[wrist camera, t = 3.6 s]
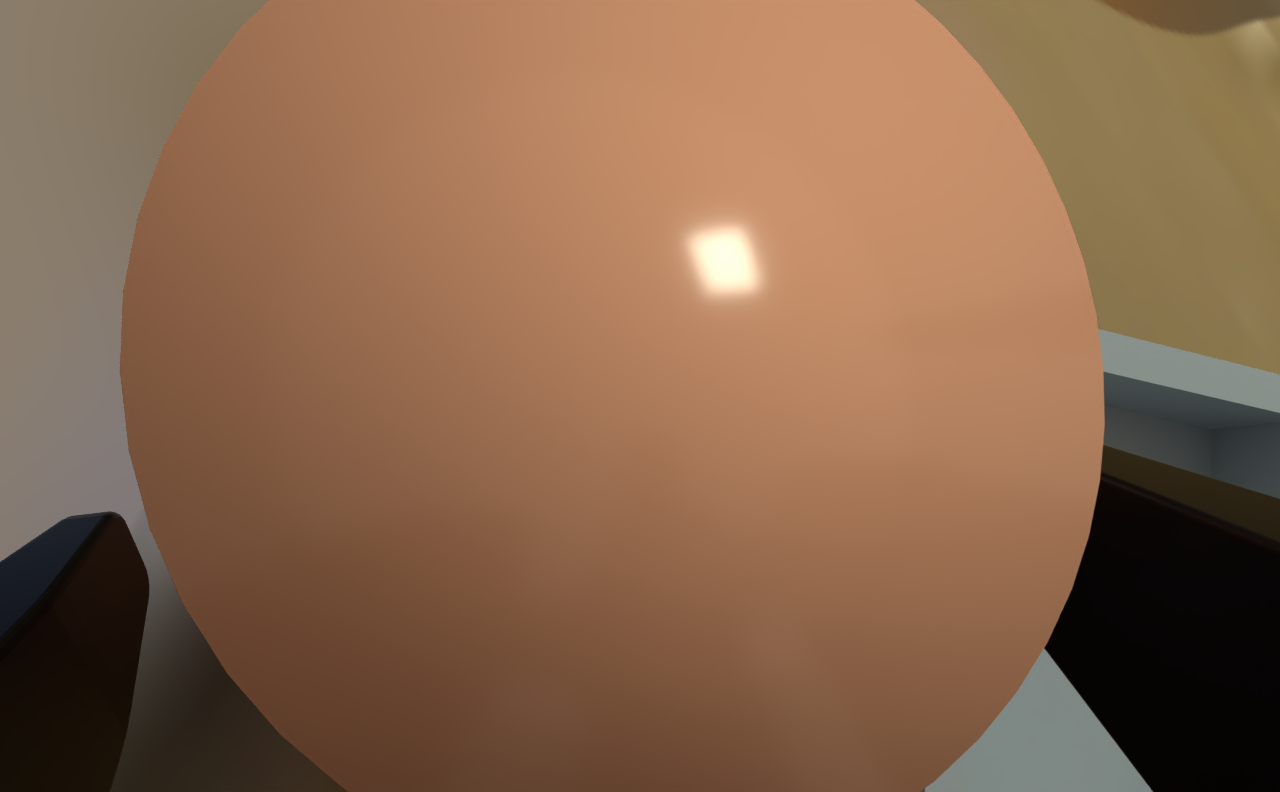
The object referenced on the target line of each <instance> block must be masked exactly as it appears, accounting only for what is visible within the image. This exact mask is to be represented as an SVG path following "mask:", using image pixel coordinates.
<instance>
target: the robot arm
mask: <svg viewBox="0 0 1280 792" xmlns="http://www.w3.org/2000/svg"><path fill="white" fill-rule="evenodd" d="M148 600H149V579H148V574H147V570H146V567H145V565H144V562H143V560H142V558H141V556H140V553H139V551H138V549H137V547H136V544H135V542H134V540H133V537H132V535H131V533H130V531H129V528H128V526H127V524H126V522H125V520H124V519H123V518H122V517H121V515H120V514H117V513H115V512H101V513H93V514H84V515H76V516H71V517H68V518H66V519H63V520H61V521H60V522H58V523H57V524H55V525H54V526H53V527H51V528H49V529H48V530H46V531H45V532H44V533H42V534H41V535H39V536H38V537H36V538H35V539H33V540H32V541H30V542H29V543H27V544H26V545H24V546H23V547H21V548H20V549H18V550H17V551H16V552H14V553H13V554H11V555H10V556H8V557H7V558H5V559H4V560H2V561H1V562H0V792H110V790H111V786H112V783H113V780H114V776H115V773H116V770H117V767H118V763H119V760H120V756H121V752H122V749H123V745H124V741H125V737H126V733H127V728H128V723H129V717H130V712H131V706H132V700H133V694H134V687H135V681H136V675H137V669H138V662H139V656H140V650H141V644H142V638H143V631H144V625H145V619H146V613H147V606H148ZM1044 649H1045V650H1046V651H1047V653H1048V654H1049V655H1050V657H1051V658H1052V659H1053V661H1054V662H1055V663H1056V665H1057V666H1058V667H1059V669H1060V670H1061V671H1062V673H1063V674H1064V675H1065V677H1066V678H1067V679H1068V681H1069V682H1070V683H1071V684H1072V686H1073V687H1074V688H1075V690H1076V691H1077V692H1078V694H1079V695H1080V696H1081V698H1082V699H1083V700H1084V702H1085V703H1086V704H1087V706H1088V707H1089V708H1090V710H1091V711H1092V712H1093V714H1094V715H1095V716H1096V718H1097V719H1098V720H1099V721H1100V723H1101V724H1102V725H1103V727H1104V728H1105V729H1106V731H1107V732H1108V733H1109V735H1110V736H1111V737H1112V739H1113V740H1114V741H1115V743H1116V744H1117V745H1118V747H1119V748H1120V749H1121V751H1122V752H1123V753H1124V755H1125V756H1126V757H1127V758H1128V760H1129V761H1130V762H1131V764H1132V765H1133V766H1134V768H1135V769H1136V770H1137V772H1138V773H1139V774H1140V776H1141V777H1142V778H1143V780H1144V781H1145V782H1146V784H1147V785H1148V786H1149V788H1150V789H1151V790H1152V792H1280V499H1279V498H1276V497H1273V496H1270V495H1266V494H1263V493H1260V492H1256V491H1253V490H1250V489H1247V488H1243V487H1240V486H1237V485H1233V484H1230V483H1227V482H1224V481H1220V480H1217V479H1214V478H1210V477H1207V476H1204V475H1201V474H1197V473H1194V472H1191V471H1188V470H1184V469H1181V468H1178V467H1174V466H1171V465H1168V464H1165V463H1161V462H1158V461H1155V460H1151V459H1148V458H1145V457H1142V456H1138V455H1135V454H1132V453H1128V452H1125V451H1122V450H1119V449H1115V448H1112V447H1109V446H1105V445H1103V451H1102V463H1101V475H1100V483H1099V488H1098V493H1097V498H1096V503H1095V508H1094V513H1093V518H1092V523H1091V528H1090V533H1089V537H1088V540H1087V543H1086V546H1085V550H1084V553H1083V556H1082V559H1081V562H1080V565H1079V568H1078V571H1077V575H1076V578H1075V581H1074V584H1073V587H1072V590H1071V592H1070V594H1069V597H1068V599H1067V601H1066V603H1065V605H1064V608H1063V610H1062V612H1061V614H1060V616H1059V618H1058V621H1057V623H1056V625H1055V627H1054V629H1053V632H1052V634H1051V636H1050V638H1049V640H1048V642H1047V644H1046V646H1045V647H1044Z"/></svg>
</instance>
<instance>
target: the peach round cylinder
mask: <svg viewBox="0 0 1280 792" xmlns="http://www.w3.org/2000/svg"><path fill="white" fill-rule="evenodd" d="M120 357H121V358H120V376H121V384H122V393H123V402H124V412H125V421H126V430H127V438H128V447H129V453H130V456H131V460H132V464H133V467H134V471H135V475H136V479H137V482H138V486H139V490H140V493H141V497H142V501H143V505H144V508H145V512H146V516H147V519H148V523H149V527H150V530H151V532H152V534H153V537H154V539H155V541H156V544H157V546H158V548H159V550H160V553H161V555H162V557H163V559H164V562H165V564H166V566H167V569H168V571H169V573H170V575H171V578H172V580H173V582H174V584H175V587H176V589H177V591H178V593H179V596H180V598H181V600H182V603H183V605H184V606H185V608H186V609H187V611H188V613H189V614H190V616H191V617H192V619H193V620H194V622H195V624H196V625H197V627H198V628H199V630H200V631H201V633H202V635H203V636H204V638H205V639H206V641H207V642H208V644H209V646H210V647H211V649H212V650H213V652H214V653H215V655H216V657H217V658H218V660H219V661H220V663H221V665H222V666H223V668H224V669H225V671H226V672H227V674H228V675H229V676H230V677H231V678H232V680H233V681H234V682H235V683H236V684H237V685H238V687H239V688H240V689H241V690H242V691H243V692H244V693H245V695H246V696H247V697H248V698H249V699H250V700H251V701H252V703H253V704H254V705H255V706H256V707H257V708H258V710H259V711H260V712H261V713H262V714H263V715H264V716H265V718H266V719H267V720H268V721H269V722H270V723H271V724H272V726H273V727H274V728H275V729H276V730H277V731H278V733H279V734H280V735H281V736H282V737H283V738H285V739H286V740H287V741H288V742H289V743H291V744H292V745H293V746H294V747H295V748H296V749H298V750H299V751H300V752H301V753H302V754H303V755H305V756H306V757H307V758H308V759H309V760H311V761H312V762H313V763H314V764H315V765H316V766H318V767H319V768H320V769H321V770H322V771H323V772H325V773H326V774H327V775H328V776H329V777H330V778H332V779H333V780H334V781H335V782H336V783H338V784H339V785H340V786H341V787H342V788H344V789H345V790H347V791H349V792H920V791H922V790H923V789H925V788H926V787H927V786H929V785H930V784H931V783H933V782H934V781H935V780H936V779H937V778H939V777H940V776H941V775H942V774H943V773H944V772H945V771H946V770H947V769H948V768H949V767H950V766H951V765H952V764H953V763H954V762H955V761H956V760H958V759H959V758H960V757H961V756H962V755H963V754H964V753H965V752H966V751H967V750H968V749H969V748H970V747H971V746H972V745H973V744H974V743H975V742H976V741H978V740H979V738H980V737H981V736H982V735H983V734H984V732H985V731H986V730H987V729H988V727H989V726H990V725H991V724H992V722H993V721H994V720H995V719H996V717H997V716H998V715H999V714H1000V713H1001V711H1002V710H1003V709H1004V708H1005V706H1006V705H1007V704H1008V703H1009V701H1010V700H1011V699H1012V698H1013V696H1014V695H1015V694H1016V693H1017V691H1018V690H1019V688H1020V686H1021V685H1022V683H1023V681H1024V680H1025V678H1026V677H1027V675H1028V673H1029V672H1030V670H1031V668H1032V667H1033V665H1034V664H1035V662H1036V660H1037V659H1038V657H1039V655H1040V654H1041V652H1042V651H1043V649H1044V647H1045V646H1046V644H1047V642H1048V640H1049V638H1050V636H1051V634H1052V632H1053V629H1054V627H1055V625H1056V623H1057V621H1058V618H1059V616H1060V614H1061V612H1062V610H1063V608H1064V605H1065V603H1066V601H1067V599H1068V597H1069V594H1070V592H1071V590H1072V587H1073V584H1074V581H1075V578H1076V575H1077V571H1078V568H1079V565H1080V562H1081V559H1082V556H1083V553H1084V550H1085V546H1086V543H1087V540H1088V537H1089V533H1090V528H1091V523H1092V518H1093V513H1094V508H1095V503H1096V498H1097V493H1098V488H1099V483H1100V475H1101V463H1102V451H1103V439H1104V427H1105V415H1104V374H1103V362H1102V354H1101V347H1100V339H1099V331H1098V324H1097V316H1096V311H1095V307H1094V302H1093V298H1092V294H1091V290H1090V286H1089V282H1088V277H1087V273H1086V269H1085V265H1084V261H1083V258H1082V255H1081V252H1080V249H1079V246H1078V243H1077V240H1076V238H1075V235H1074V232H1073V229H1072V226H1071V223H1070V220H1069V218H1068V215H1067V212H1066V209H1065V207H1064V204H1063V202H1062V200H1061V198H1060V196H1059V194H1058V192H1057V189H1056V187H1055V185H1054V183H1053V181H1052V179H1051V177H1050V175H1049V172H1048V170H1047V168H1046V166H1045V164H1044V162H1043V160H1042V158H1041V156H1040V154H1039V153H1038V151H1037V149H1036V148H1035V146H1034V144H1033V143H1032V141H1031V139H1030V138H1029V136H1028V134H1027V132H1026V131H1025V129H1024V127H1023V126H1022V124H1021V122H1020V121H1019V119H1018V117H1017V116H1016V114H1015V112H1014V111H1013V109H1012V108H1011V107H1010V105H1009V104H1008V103H1007V101H1006V100H1005V99H1004V97H1003V96H1002V95H1001V93H1000V92H999V91H998V89H997V88H996V87H995V85H994V84H993V82H992V81H991V80H990V78H989V77H988V76H987V74H986V73H985V72H984V70H983V69H982V68H981V66H980V65H979V64H978V63H977V62H976V61H975V60H974V59H973V58H972V57H971V55H970V54H969V53H968V52H967V51H966V50H965V49H964V48H963V47H962V46H961V45H960V43H959V42H958V41H957V40H956V39H955V38H954V37H953V36H952V35H951V34H950V32H949V31H948V30H947V29H946V28H945V27H944V26H943V25H942V24H941V23H940V22H939V21H937V20H936V19H935V18H934V17H933V16H932V15H931V14H930V13H928V12H927V11H926V10H925V9H924V8H923V7H922V6H921V5H919V4H918V3H917V2H916V1H915V0H269V1H268V2H267V3H266V4H265V5H264V6H263V7H262V8H260V9H259V10H258V11H257V12H256V13H255V14H254V15H253V16H252V17H251V18H250V19H249V20H248V21H247V22H246V23H245V24H244V25H243V26H242V27H241V28H240V29H239V30H238V32H237V33H236V34H235V36H234V37H233V38H232V40H231V41H230V42H229V43H228V45H227V46H226V47H225V49H224V50H223V51H222V53H221V54H220V55H219V57H218V58H217V59H216V61H215V62H214V63H213V64H212V66H211V67H210V68H209V70H208V71H207V72H206V73H205V75H204V76H203V77H202V79H201V80H200V81H199V83H198V84H197V86H196V88H195V90H194V92H193V94H192V95H191V97H190V99H189V101H188V103H187V104H186V106H185V108H184V110H183V112H182V113H181V115H180V117H179V119H178V121H177V123H176V124H175V126H174V128H173V130H172V132H171V133H170V135H169V137H168V139H167V141H166V143H165V144H164V146H163V149H162V152H161V155H160V157H159V160H158V163H157V165H156V168H155V171H154V174H153V176H152V179H151V182H150V185H149V188H148V190H147V193H146V196H145V199H144V201H143V204H142V207H141V210H140V213H139V215H138V219H137V224H136V229H135V234H134V239H133V244H132V249H131V254H130V260H129V265H128V270H127V275H126V280H125V285H124V290H123V307H122V331H121V356H120Z"/></svg>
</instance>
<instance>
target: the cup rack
mask: <svg viewBox="0 0 1280 792" xmlns="http://www.w3.org/2000/svg"><path fill="white" fill-rule="evenodd" d="M1098 331H1099V339H1100V347H1101V354H1102V362H1103V374H1104V415H1105V427H1104V439H1103V445H1105V446H1109V447H1112V448H1115V449H1119V450H1122V451H1125V452H1128V453H1132V454H1135V455H1138V456H1142V457H1145V458H1148V459H1151V460H1155V461H1158V462H1161V463H1165V464H1168V465H1171V466H1174V467H1178V468H1181V469H1184V470H1188V471H1191V472H1194V473H1197V474H1201V475H1204V476H1207V477H1210V478H1214V479H1217V480H1220V481H1224V482H1227V483H1230V484H1233V485H1237V486H1240V487H1243V488H1247V489H1250V490H1253V491H1256V492H1260V493H1263V494H1266V495H1270V496H1273V497H1276V498H1279V499H1280V374H1276V373H1272V372H1268V371H1264V370H1260V369H1256V368H1252V367H1248V366H1244V365H1240V364H1236V363H1232V362H1228V361H1224V360H1220V359H1216V358H1212V357H1208V356H1204V355H1200V354H1196V353H1192V352H1188V351H1184V350H1180V349H1176V348H1172V347H1168V346H1164V345H1160V344H1156V343H1152V342H1148V341H1144V340H1140V339H1136V338H1132V337H1128V336H1124V335H1120V334H1116V333H1112V332H1108V331H1104V330H1100V329H1098ZM920 792H1152V790H1151V789H1150V788H1149V786H1148V785H1147V784H1146V782H1145V781H1144V780H1143V778H1142V777H1141V776H1140V774H1139V773H1138V772H1137V770H1136V769H1135V768H1134V766H1133V765H1132V764H1131V762H1130V761H1129V760H1128V758H1127V757H1126V756H1125V755H1124V753H1123V752H1122V751H1121V749H1120V748H1119V747H1118V745H1117V744H1116V743H1115V741H1114V740H1113V739H1112V737H1111V736H1110V735H1109V733H1108V732H1107V731H1106V729H1105V728H1104V727H1103V725H1102V724H1101V723H1100V721H1099V720H1098V719H1097V718H1096V716H1095V715H1094V714H1093V712H1092V711H1091V710H1090V708H1089V707H1088V706H1087V704H1086V703H1085V702H1084V700H1083V699H1082V698H1081V696H1080V695H1079V694H1078V692H1077V691H1076V690H1075V688H1074V687H1073V686H1072V684H1071V683H1070V682H1069V681H1068V679H1067V678H1066V677H1065V675H1064V674H1063V673H1062V671H1061V670H1060V669H1059V667H1058V666H1057V665H1056V663H1055V662H1054V661H1053V659H1052V658H1051V657H1050V655H1049V654H1048V653H1047V651H1046V650H1045V649H1043V651H1042V652H1041V654H1040V655H1039V657H1038V659H1037V660H1036V662H1035V664H1034V665H1033V667H1032V668H1031V670H1030V672H1029V673H1028V675H1027V677H1026V678H1025V680H1024V681H1023V683H1022V685H1021V686H1020V688H1019V690H1018V691H1017V693H1016V694H1015V695H1014V696H1013V698H1012V699H1011V700H1010V701H1009V703H1008V704H1007V705H1006V706H1005V708H1004V709H1003V710H1002V711H1001V713H1000V714H999V715H998V716H997V717H996V719H995V720H994V721H993V722H992V724H991V725H990V726H989V727H988V729H987V730H986V731H985V732H984V734H983V735H982V736H981V737H980V738H979V740H978V741H976V742H975V743H974V744H973V745H972V746H971V747H970V748H969V749H968V750H967V751H966V752H965V753H964V754H963V755H962V756H961V757H960V758H959V759H958V760H956V761H955V762H954V763H953V764H952V765H951V766H950V767H949V768H948V769H947V770H946V771H945V772H944V773H943V774H942V775H941V776H940V777H939V778H937V779H936V780H935V781H934V782H933V783H931V784H930V785H929V786H927V787H926V788H925V789H923V790H922V791H920Z"/></svg>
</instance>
